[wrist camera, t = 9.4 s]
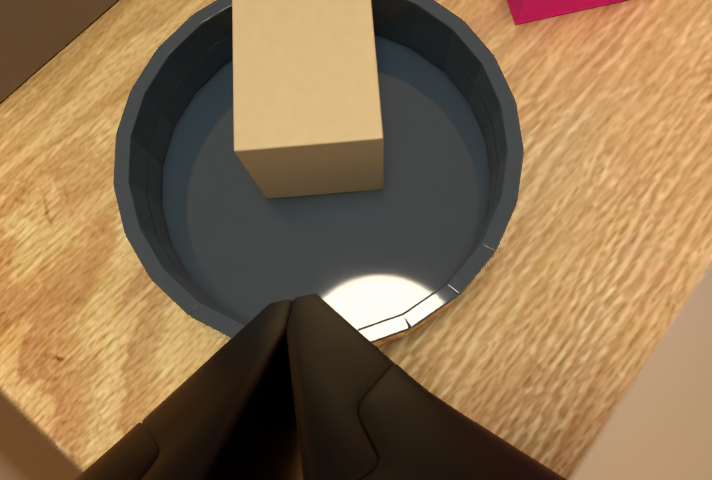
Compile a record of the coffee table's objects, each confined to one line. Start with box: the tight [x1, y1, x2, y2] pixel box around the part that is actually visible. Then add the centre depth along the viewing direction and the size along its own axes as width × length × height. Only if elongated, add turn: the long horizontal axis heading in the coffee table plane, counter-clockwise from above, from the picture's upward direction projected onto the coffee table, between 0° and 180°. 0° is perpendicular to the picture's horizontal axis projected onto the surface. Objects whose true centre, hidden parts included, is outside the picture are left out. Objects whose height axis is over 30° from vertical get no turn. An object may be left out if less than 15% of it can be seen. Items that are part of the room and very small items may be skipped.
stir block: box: [232, 0, 384, 199], centre depth 21 cm, size 5×5×8 cm
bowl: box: [114, 0, 524, 346], centre depth 21 cm, size 15×15×4 cm
